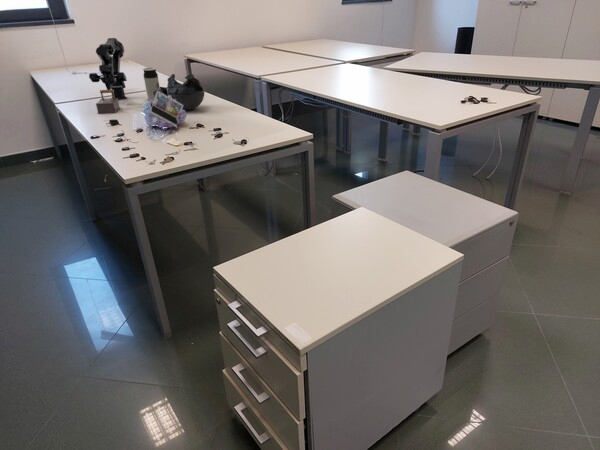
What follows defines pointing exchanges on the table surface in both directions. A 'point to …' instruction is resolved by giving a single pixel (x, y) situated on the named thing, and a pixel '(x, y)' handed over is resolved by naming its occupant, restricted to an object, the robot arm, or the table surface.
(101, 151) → the table surface
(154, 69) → the travel mug
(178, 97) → the bowl of black rocks
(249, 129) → the table surface
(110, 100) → the lid
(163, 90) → the speaker
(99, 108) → the key box
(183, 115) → the crystal picture frame
